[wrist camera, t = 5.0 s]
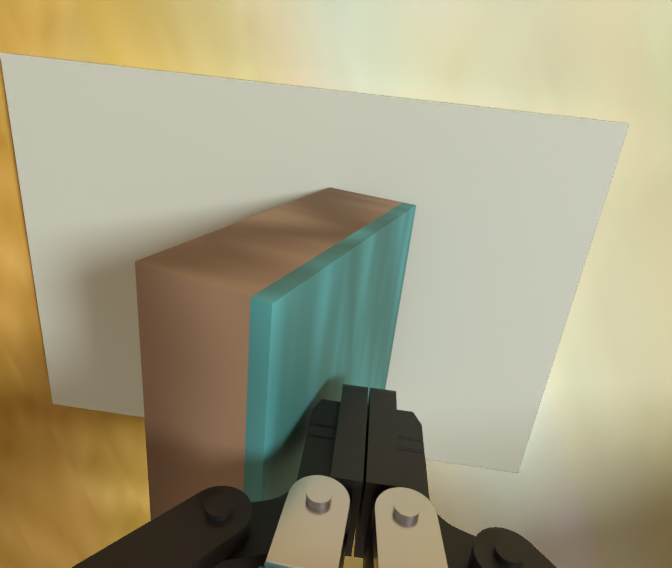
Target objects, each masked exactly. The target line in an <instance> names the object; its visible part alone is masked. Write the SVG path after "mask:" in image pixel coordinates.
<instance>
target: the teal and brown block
mask: <svg viewBox="0 0 672 568" xmlns="http://www.w3.org/2000/svg"><path fill="white" fill-rule="evenodd" d="M415 210H416V205H413V204H409V203H404V202H399V201H394V200H389V199H384V198H379V197H374V196H370V195H365V194H360V193H355V192H350V191H345V190H340V189H335V188H331V187H329V188H327V189H324V190H321V191H319V192H316V193H313V194H311V195H308V196H306V197H303V198H300V199H298V200H295V201H292V202H290V203H287V204H284V205H282V206H279V207H277V208H274V209H271V210H269V211H266V212H263V213H261V214H258V215H256V216H253V217H250V218H248V219H245V220H242V221H240V222H237V223H234V224H232V225H229V226H227V227H224V228H221V229H219V230H216V231H213V232H211V233H208V234H206V235H203V236H200V237H198V238H195V239H192V240H190V241H187V242H184V243H182V244H179V245H177V246H174V247H171V248H169V249H166V250H163V251H161V252H158V253H156V254H153V255H150V256H148V257H145V258H142V259H140V260H137V261H135V273H136V289H137V305H138V321H139V337H140V353H141V369H142V385H143V400H144V416H145V432H146V448H147V464H148V480H149V496H150V512H151V520H153V519H155V518H156V517H158V516H160V515H162V514H163V513H165V512H167V511H168V510H170V509H172V508H173V507H175V506H177V505H178V504H180V503H182V502H184V501H185V500H187V499H189V498H190V497H192V496H194V495H195V494H197V493H199V492H200V491H202V490H204V489H207V488H210V487H214V486H231V487H234V488H237V489H239V490H241V491H242V492H244V493H245V494H246V495H247V496H248V498H249V499H250V501H251V502H257V501H265V500H270V499H274V498H277V497H279V496H281V495H283V494H285V493H286V492H288V491H289V490H290V488H291V487H292V485H293V484H294V483H295V482H296V480H297V477H298V472H299V468H300V463H301V458H302V454H303V449H304V445H305V440H306V436H307V431H308V426H309V422H310V417H311V413H312V409H313V408H314V407H315V406H316V405H317V404H318V403H319V402H320V401H321V400H322V399H324V400H332V401H339V402H341V395H342V388H343V384H348V385H355V386H363V387H368V397H369V391H370V388H378V389H386V383H387V377H388V371H389V365H390V359H391V353H392V347H393V341H394V335H395V329H396V323H397V317H398V311H399V305H400V299H401V293H402V287H403V282H404V276H405V270H406V264H407V258H408V252H409V246H410V240H411V234H412V228H413V222H414V216H415Z"/></svg>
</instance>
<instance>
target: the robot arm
mask: <svg viewBox="0 0 672 568" xmlns="http://www.w3.org/2000/svg"><path fill="white" fill-rule="evenodd" d="M355 529H356V532H355ZM354 535H355V547H354V557H360V558H363V568H556V567H555V566H554V565H553V564H552V563H551V562H550V561H549V560H548V559H547V558H546V557H545V556H544V555H542V554H541V553H540V552H539V551H538V550H537V549H536V548H535V547H534V546H533V545H532V544H531V543H530V542H528V541H527V540H526V539H525V538H524V537H522V536H521V535H519V534H517V533H515V532H513V531H511V530H508V529H504V528H497V527H494V528H487V529H485V530H482V531H481V532H480V533H478V535H477V536H476V537H475V536H473V535H471V534H468V533H466V532H464V531H461V530H459V529H457V528H455V527H453V526H451V525H450V524H448V523H447V522H445V521H444V520H443V519H442V518H441V517H440V516H439V515H438V514H437V512H436V509H435V507H434V505H433V504H432V503H431V501H430V499H429V492H428V482H427V472H426V462H425V454H424V442H423V432H422V425H421V423H420V422H419V420H418V419H417V417H416V416H415V414H414V413H413V412H411V411H404V410H397V399H396V391H392V390H385V389H378V388H370V391H369V397H368V387H363V386H355V385H348V384H343V388H342V395H341V402H339V401H332V400H324V399H322V400H321V401H320V402H319V403H318V404H317V405H316V406H315V407H314V408H313V409H312V413H311V417H310V422H309V426H308V431H307V436H306V440H305V445H304V449H303V454H302V458H301V463H300V468H299V472H298V477H297V480H296V482H295V483H294V484H293V485H292V487H291V488H290V490H289V491H288V492H286V493H285V494H283V495H281V496H279V497H277V498H274V499H270V500H265V501H257V502H251V501H250V499H249V498H248V496H247V495H246V494H245V493H244V492H242V491H241V490H239V489H237V488H234V487H231V486H214V487H210V488H207V489H204V490H202V491H200V492H199V493H197V494H195V495H194V496H192V497H190V498H189V499H187V500H185V501H184V502H182V503H180V504H178V505H177V506H175V507H173V508H172V509H170V510H168V511H167V512H165V513H163V514H162V515H160V516H158V517H156V518H155V519H153V520H151V521H150V522H148V523H146V524H145V525H143V526H141V527H140V528H138V529H136V530H134V531H133V532H131V533H129V534H128V535H126V536H124V537H123V538H121V539H119V540H118V541H116V542H114V543H112V544H111V545H109V546H107V547H106V548H104V549H102V550H101V551H99V552H97V553H96V554H94V555H92V556H90V557H89V558H87V559H85V560H84V561H82V562H80V563H79V564H77V565H75V566H74V567H72V568H343V564H344V558H345V556H351V553H352V547H353V541H354Z"/></svg>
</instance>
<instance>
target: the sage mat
mask: <svg viewBox="0 0 672 568" xmlns="http://www.w3.org/2000/svg"><path fill="white" fill-rule="evenodd" d="M0 57H1V64H2V71H3V77H4V84H5V91H6V97H7V104H8V110H9V117H10V124H11V130H12V137H13V144H14V150H15V157H16V164H17V170H18V177H19V184H20V190H21V197H22V203H23V210H24V217H25V223H26V230H27V237H28V243H29V250H30V257H31V263H32V270H33V277H34V283H35V290H36V296H37V303H38V310H39V316H40V323H41V330H42V336H43V343H44V350H45V356H46V363H47V369H48V376H49V383H50V389H51V396H52V403H53V404H56V405H63V406H69V407H76V408H83V409H90V410H96V411H103V412H110V413H117V414H123V415H130V416H137V417H143V418H145V416H144V400H143V385H142V369H141V353H140V337H139V321H138V305H137V289H136V273H135V261H137V260H140V259H142V258H145V257H148V256H150V255H153V254H156V253H158V252H161V251H163V250H166V249H169V248H171V247H174V246H177V245H179V244H182V243H184V242H187V241H190V240H192V239H195V238H198V237H200V236H203V235H206V234H208V233H211V232H213V231H216V230H219V229H221V228H224V227H227V226H229V225H232V224H234V223H237V222H240V221H242V220H245V219H248V218H250V217H253V216H256V215H258V214H261V213H263V212H266V211H269V210H271V209H274V208H277V207H279V206H282V205H284V204H287V203H290V202H292V201H295V200H298V199H300V198H303V197H306V196H308V195H311V194H313V193H316V192H319V191H321V190H324V189H327V188H329V187H331V188H335V189H340V190H345V191H350V192H355V193H360V194H365V195H370V196H374V197H379V198H384V199H389V200H394V201H399V202H404V203H409V204H413V205H416V210H415V216H414V222H413V228H412V234H411V240H410V246H409V252H408V258H407V264H406V270H405V276H404V282H403V287H402V293H401V299H400V305H399V311H398V317H397V323H396V329H395V335H394V341H393V347H392V353H391V359H390V365H389V371H388V377H387V383H386V389H385V390H392V391H396V399H397V410H404V411H411V412H413V413H414V414H415V416H416V417H417V419H418V420H419V422H420V423H421V425H422V432H423V442H424V454H425V459H426V460H433V461H439V462H446V463H453V464H460V465H466V466H473V467H480V468H487V469H493V470H500V471H507V472H513V473H518V471H519V468H520V465H521V462H522V459H523V455H524V452H525V449H526V446H527V443H528V440H529V437H530V433H531V430H532V427H533V424H534V421H535V418H536V415H537V412H538V408H539V405H540V402H541V399H542V396H543V393H544V390H545V387H546V383H547V380H548V377H549V374H550V371H551V368H552V365H553V362H554V358H555V355H556V352H557V349H558V346H559V343H560V340H561V337H562V333H563V330H564V327H565V324H566V321H567V318H568V315H569V312H570V308H571V305H572V302H573V299H574V296H575V293H576V290H577V287H578V283H579V280H580V277H581V274H582V271H583V268H584V265H585V262H586V258H587V255H588V252H589V249H590V246H591V243H592V240H593V236H594V233H595V230H596V227H597V224H598V221H599V218H600V215H601V211H602V208H603V205H604V202H605V199H606V196H607V193H608V190H609V186H610V183H611V180H612V177H613V174H614V171H615V168H616V165H617V161H618V158H619V155H620V152H621V149H622V146H623V143H624V140H625V136H626V133H627V130H628V127H629V124H628V123H623V122H614V121H605V120H596V119H587V118H578V117H570V116H561V115H552V114H543V113H534V112H525V111H516V110H508V109H499V108H490V107H481V106H472V105H463V104H454V103H446V102H437V101H428V100H419V99H410V98H401V97H392V96H383V95H375V94H366V93H357V92H348V91H339V90H330V89H321V88H313V87H304V86H295V85H286V84H277V83H268V82H259V81H251V80H242V79H233V78H224V77H215V76H206V75H197V74H189V73H180V72H171V71H162V70H153V69H144V68H135V67H126V66H118V65H109V64H100V63H91V62H82V61H73V60H64V59H56V58H47V57H38V56H29V55H20V54H11V53H0Z"/></svg>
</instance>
